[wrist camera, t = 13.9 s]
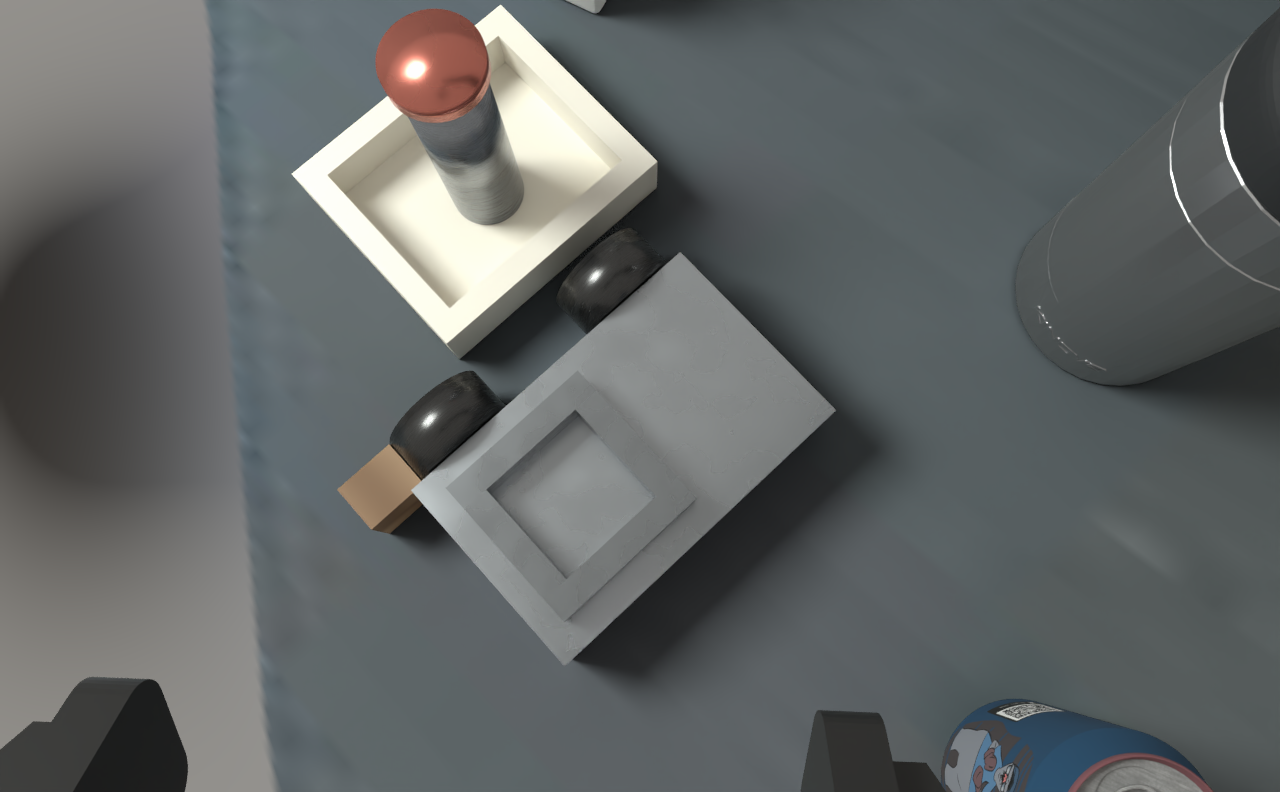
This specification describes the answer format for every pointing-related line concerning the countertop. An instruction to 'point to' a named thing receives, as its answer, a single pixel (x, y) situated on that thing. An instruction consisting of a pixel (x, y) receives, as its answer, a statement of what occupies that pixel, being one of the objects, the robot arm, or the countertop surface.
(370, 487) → the block
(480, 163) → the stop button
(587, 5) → the medicine bottle
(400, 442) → the trolley
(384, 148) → the tray
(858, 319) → the countertop surface
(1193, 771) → the soda can
